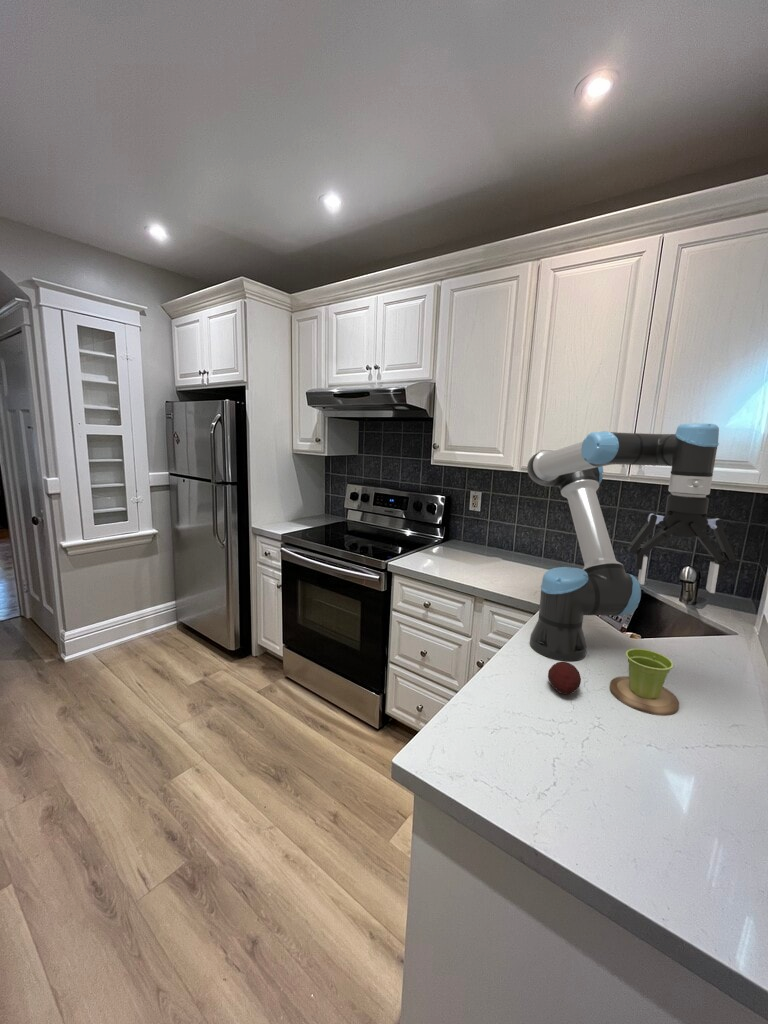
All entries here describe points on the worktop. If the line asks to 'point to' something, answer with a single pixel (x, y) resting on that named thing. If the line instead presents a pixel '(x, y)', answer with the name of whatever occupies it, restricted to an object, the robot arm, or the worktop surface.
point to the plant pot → (647, 672)
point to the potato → (564, 677)
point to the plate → (656, 706)
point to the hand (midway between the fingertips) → (674, 587)
